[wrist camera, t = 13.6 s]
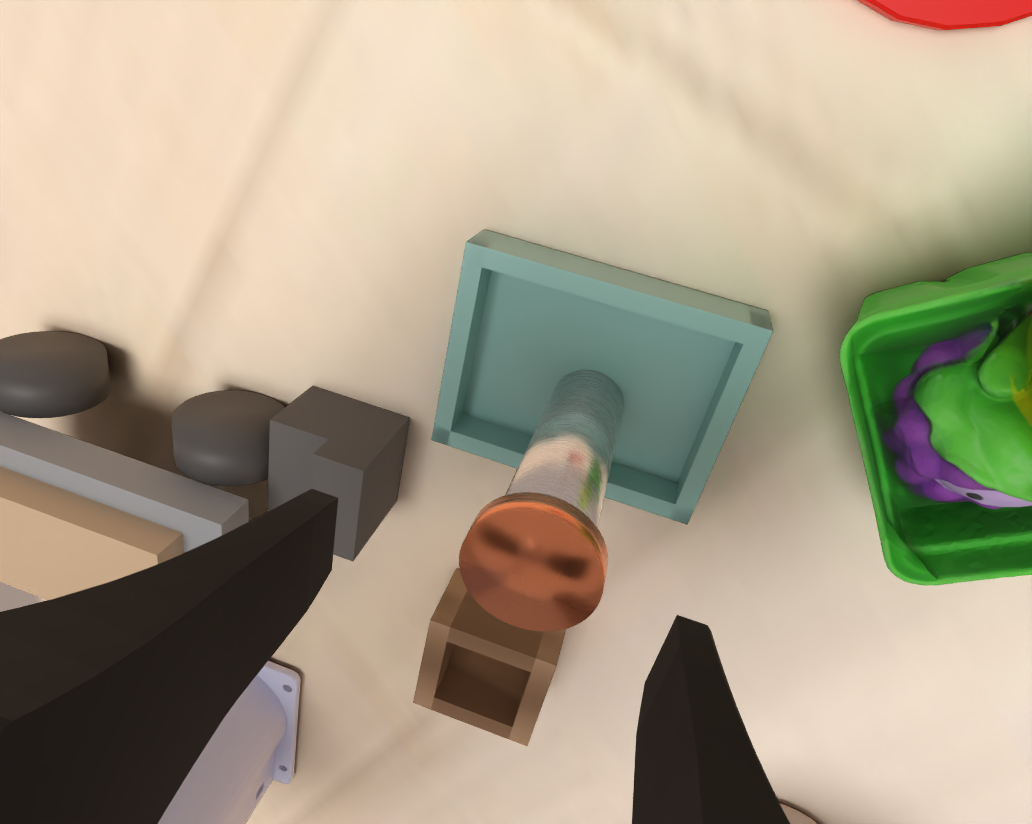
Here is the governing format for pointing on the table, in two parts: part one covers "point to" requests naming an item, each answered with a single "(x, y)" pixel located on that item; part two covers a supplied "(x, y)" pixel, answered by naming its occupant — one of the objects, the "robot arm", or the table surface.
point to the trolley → (111, 472)
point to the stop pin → (550, 514)
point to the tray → (596, 364)
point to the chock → (338, 460)
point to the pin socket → (485, 666)
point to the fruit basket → (948, 421)
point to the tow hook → (952, 12)
